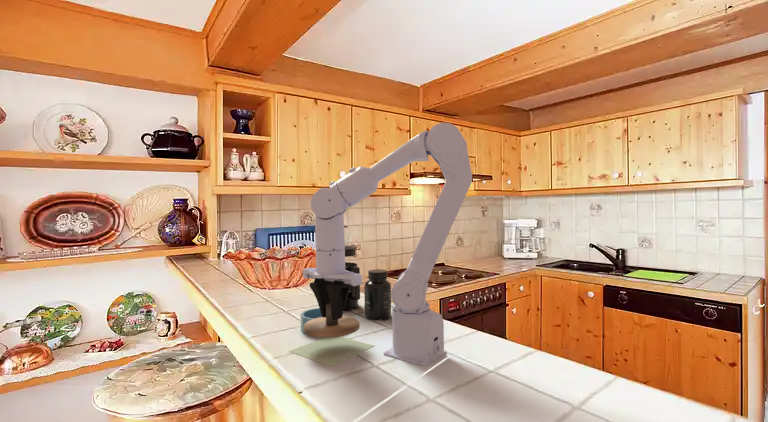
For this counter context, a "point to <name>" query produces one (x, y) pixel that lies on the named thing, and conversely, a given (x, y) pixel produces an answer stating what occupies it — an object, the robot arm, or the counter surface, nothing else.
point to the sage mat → (331, 350)
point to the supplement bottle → (377, 296)
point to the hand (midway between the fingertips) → (331, 317)
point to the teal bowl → (309, 316)
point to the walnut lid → (331, 325)
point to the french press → (355, 291)
